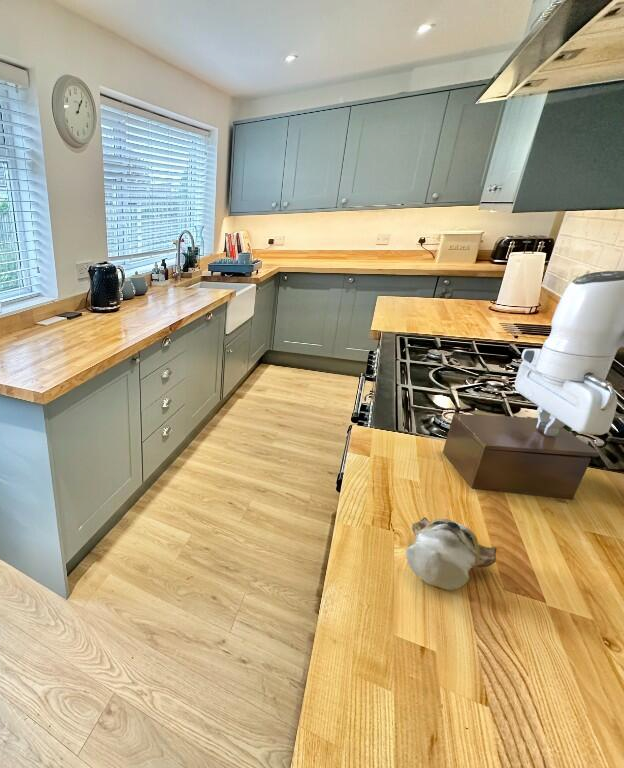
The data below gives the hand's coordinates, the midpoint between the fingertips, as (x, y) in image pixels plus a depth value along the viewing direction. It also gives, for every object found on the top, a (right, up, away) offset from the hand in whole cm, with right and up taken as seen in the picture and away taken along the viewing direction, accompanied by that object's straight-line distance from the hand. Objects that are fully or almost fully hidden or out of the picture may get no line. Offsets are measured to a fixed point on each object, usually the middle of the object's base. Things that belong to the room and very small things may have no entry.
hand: (545, 432), depth 80 cm
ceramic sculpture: (-32, -19, -15) cm, 41 cm away
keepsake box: (-4, -9, +5) cm, 11 cm away
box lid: (-4, -1, +2) cm, 4 cm away
